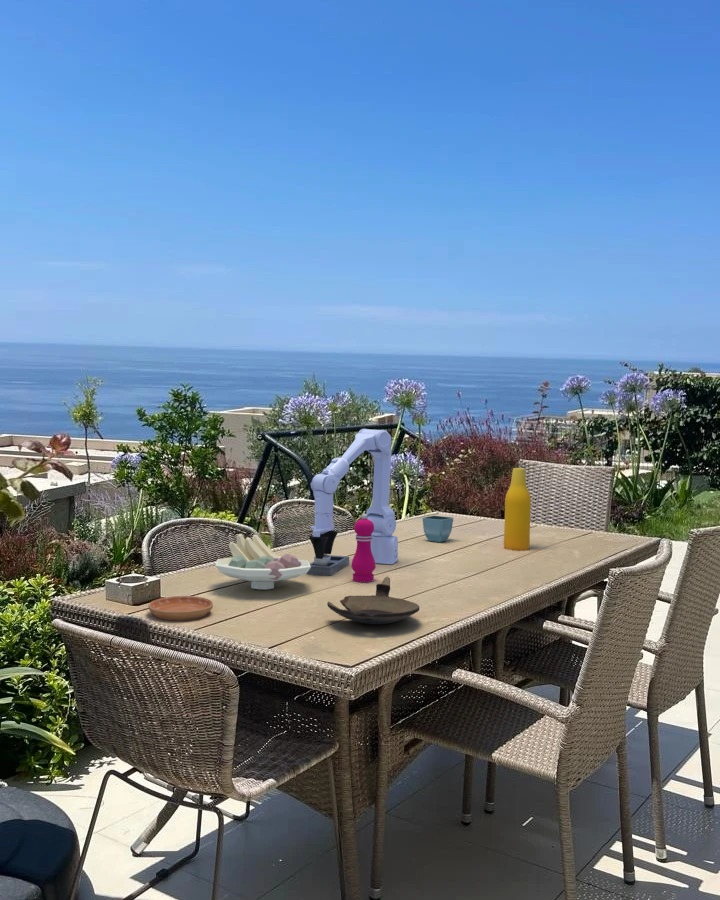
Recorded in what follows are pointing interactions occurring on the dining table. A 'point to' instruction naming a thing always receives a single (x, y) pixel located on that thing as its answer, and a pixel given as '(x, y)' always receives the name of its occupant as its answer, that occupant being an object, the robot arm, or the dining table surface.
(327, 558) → the grey metal block
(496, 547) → the dining table surface
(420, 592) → the dining table surface
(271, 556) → the dish with food
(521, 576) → the dining table surface
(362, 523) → the pepper mill
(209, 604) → the saucer
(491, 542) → the dining table surface
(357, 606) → the oil lamp
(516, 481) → the beer bottle
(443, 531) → the flower pot
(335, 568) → the blue-grey frame board
